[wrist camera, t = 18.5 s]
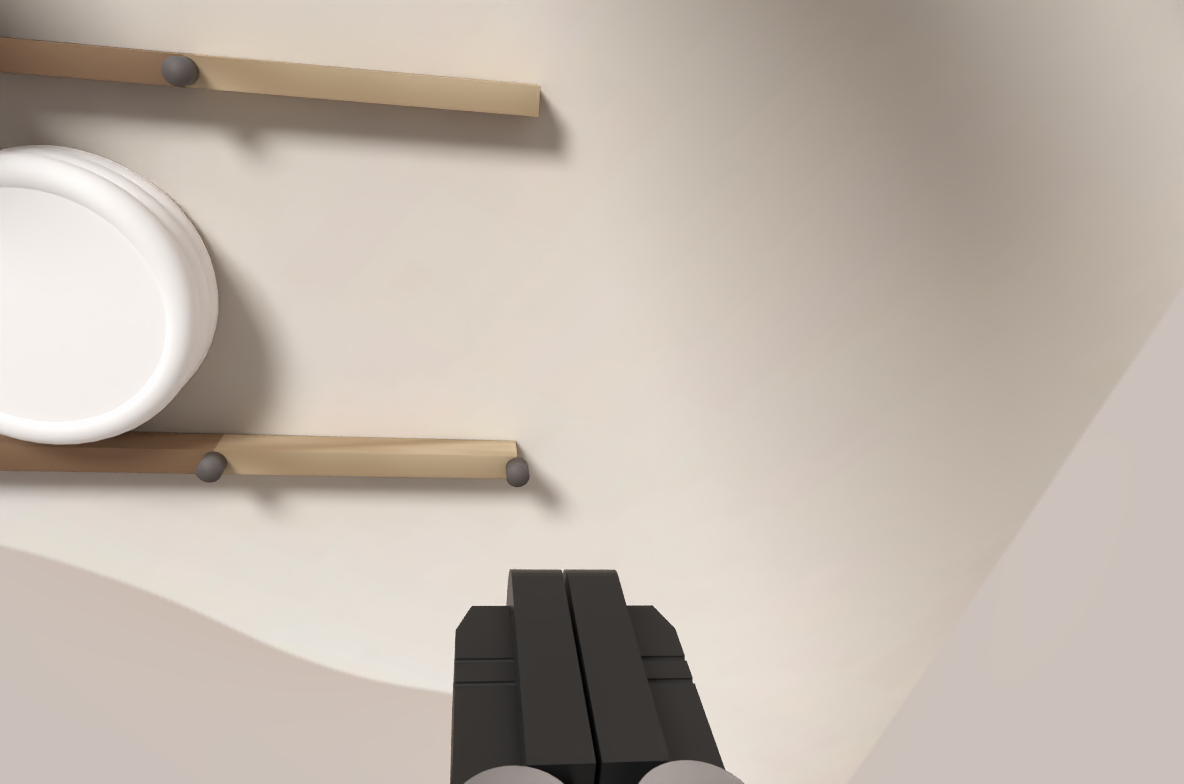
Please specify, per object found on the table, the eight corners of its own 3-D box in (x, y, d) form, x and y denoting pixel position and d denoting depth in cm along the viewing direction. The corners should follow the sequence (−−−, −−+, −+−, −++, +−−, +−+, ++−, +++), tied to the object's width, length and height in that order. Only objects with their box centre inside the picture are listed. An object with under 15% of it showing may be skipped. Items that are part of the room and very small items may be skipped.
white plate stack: (-37, 90, 28) (-102, 95, 25) (260, 219, 31) (237, 239, 28) (-105, 350, 31) (-171, 385, 28) (174, 448, 34) (144, 489, 31)
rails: (-207, 18, 27) (-264, 15, 25) (549, 86, 31) (555, 88, 28) (-109, 450, 32) (-150, 478, 30) (524, 462, 36) (528, 488, 34)
